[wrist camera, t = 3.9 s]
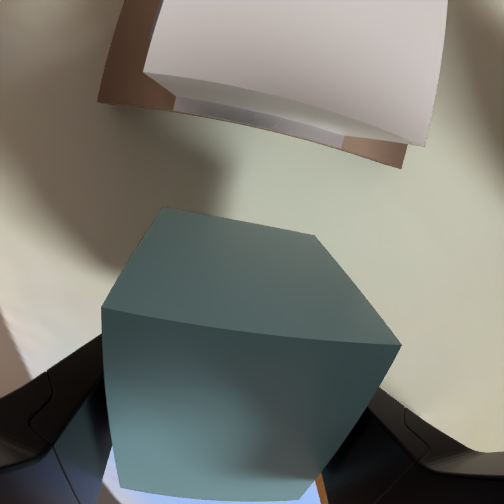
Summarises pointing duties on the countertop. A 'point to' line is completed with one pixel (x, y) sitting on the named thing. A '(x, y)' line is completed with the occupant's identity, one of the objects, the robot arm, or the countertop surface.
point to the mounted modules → (307, 60)
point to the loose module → (235, 360)
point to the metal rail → (258, 120)
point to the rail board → (157, 97)
